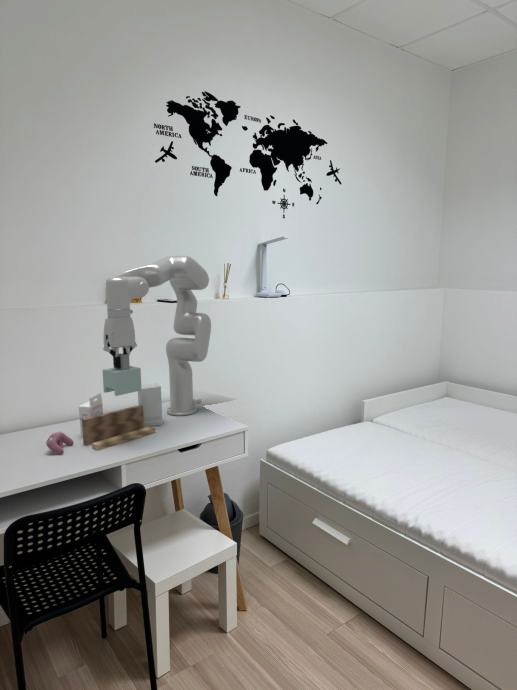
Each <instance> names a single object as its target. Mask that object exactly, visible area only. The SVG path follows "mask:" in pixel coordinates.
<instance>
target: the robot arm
mask: <svg viewBox="0 0 517 690" xmlns="http://www.w3.org/2000/svg"><path fill="white" fill-rule="evenodd" d="M166 282H169V284H170V286H171V287H172V290H173V291H174V294H175V297H176V308H175V313H174V314H175V315H174V321H173V331H174V332H175V333H176V334H178V335H182V336H193V337H194V338H193V337H191V338H189V337H173V338H170V339H169V340H168V341H167V343H166V345H165V353H166V357H167V362H168V371H169V372H168V373H169V399H170V407H168V408H167V409H166V413H167V414H168V415H172V416H177V417H179V416H181V417H182V416H189V415H193V414H195V413H196V412H197V411H198V407H197V405H199V404H202V399H201V398H199V399H194V386H193V385H194V384H193V383H194V382H193V370H192V365H191V364H190V362H192V363H193V362H194V363H199V362H200V363H202V362H203V361H205V360H206V358H207V355H208V352H209V345H210V339H211V333H212V321H211V317H210V316H209V315H208V314H206V313H205V312H197V309H198V299H197V297H196V296H195V294H194V293H193V291H201V290H202V291H203V290H205V289H206V288H207V287H208V286H209V283H210V276H209V274H208V272H207V270H206V269H205V268H204V267H203V266H202V265H200V264H199V262H197V261H196V260H195V259H194V258H192V257H191V256H189V255H169V256H168V255H167V256H165V257H163V258H160V259H158V260H157V261H154V262H152V263H151V264H148V265H144V266H143V265H142V266H141V267H137V268H134V269H129V270H126V271H124V272H121V273H119V274H117V275H115V276H113V277H109V278H107V279H106V281H105V294H106V311H107V313H106V314H107V318H105V320H104V325H103V345H104V346H103V348H102V350H103V351H104V352H107V353H109V354H110V355H111V356H112V361H113V363H112V364H114V365H113V368H114V367H115V368H121V363H120V357H119V353H120V348H121V349H122V354H126V355H129V356H131V352H132V351H133V350H134V349H135V348H137V346H138V344H137V342H136V332H135V326H134V321H133V317H131V316H132V315H131V314H133V313H134V311H133V310H132V309H131V303H130V299H141V298H144V297H146V296H147V294H148V293H149V290H150V288H156V287H159V286H161V285H163V284H165V283H166Z"/></svg>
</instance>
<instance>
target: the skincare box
mask: <svg viewBox="0 0 517 690" xmlns="http://www.w3.org/2000/svg"><path fill="white" fill-rule="evenodd" d="M141 389H142V390H141V391H137V399H138V400H137V401H138V403H137V404H138V405H142V406H143V422H144V428H146V427H150V426H151V427H155V426H156V427H157V426H162V425H163V424H164V421H163V420H164V419H163V405H162V402H163V401H162V386H161V385H160V384H159V383H158V382H155V383H147V384H141Z"/></svg>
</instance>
